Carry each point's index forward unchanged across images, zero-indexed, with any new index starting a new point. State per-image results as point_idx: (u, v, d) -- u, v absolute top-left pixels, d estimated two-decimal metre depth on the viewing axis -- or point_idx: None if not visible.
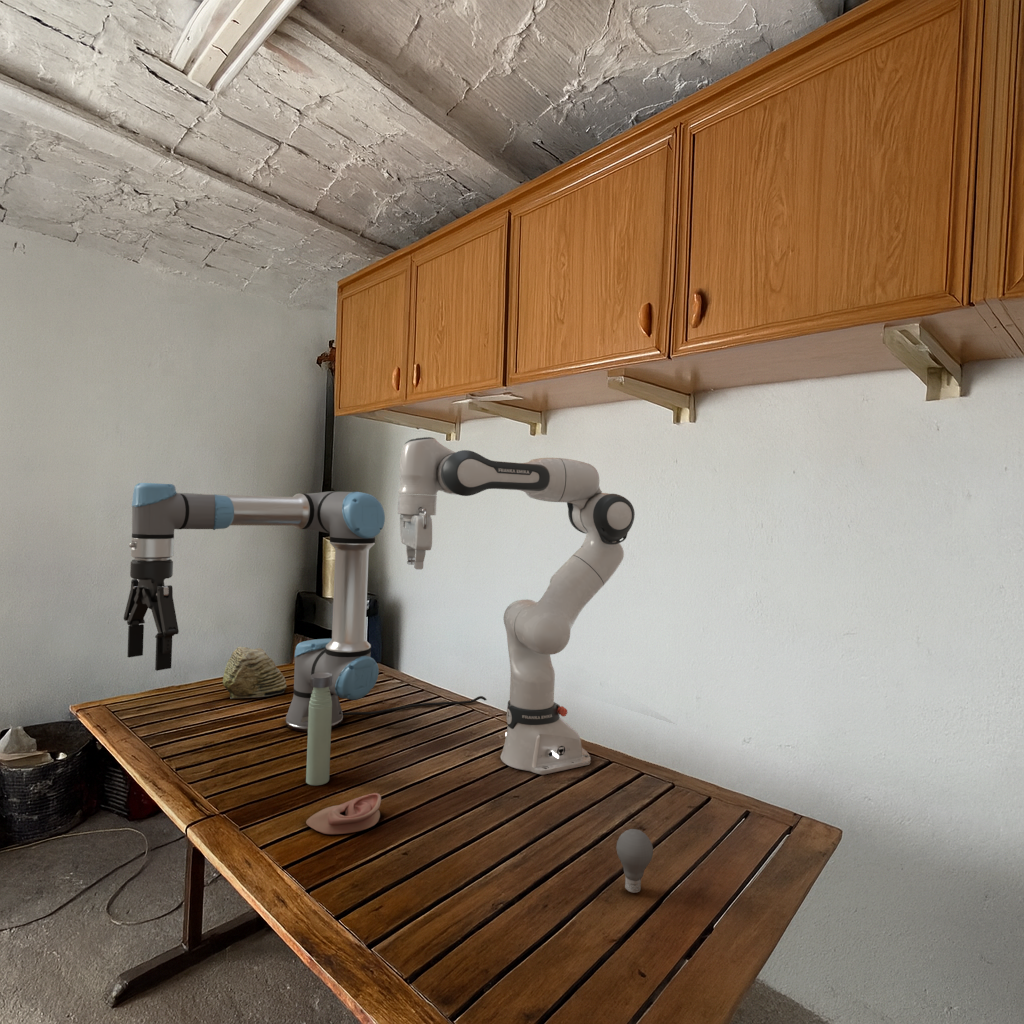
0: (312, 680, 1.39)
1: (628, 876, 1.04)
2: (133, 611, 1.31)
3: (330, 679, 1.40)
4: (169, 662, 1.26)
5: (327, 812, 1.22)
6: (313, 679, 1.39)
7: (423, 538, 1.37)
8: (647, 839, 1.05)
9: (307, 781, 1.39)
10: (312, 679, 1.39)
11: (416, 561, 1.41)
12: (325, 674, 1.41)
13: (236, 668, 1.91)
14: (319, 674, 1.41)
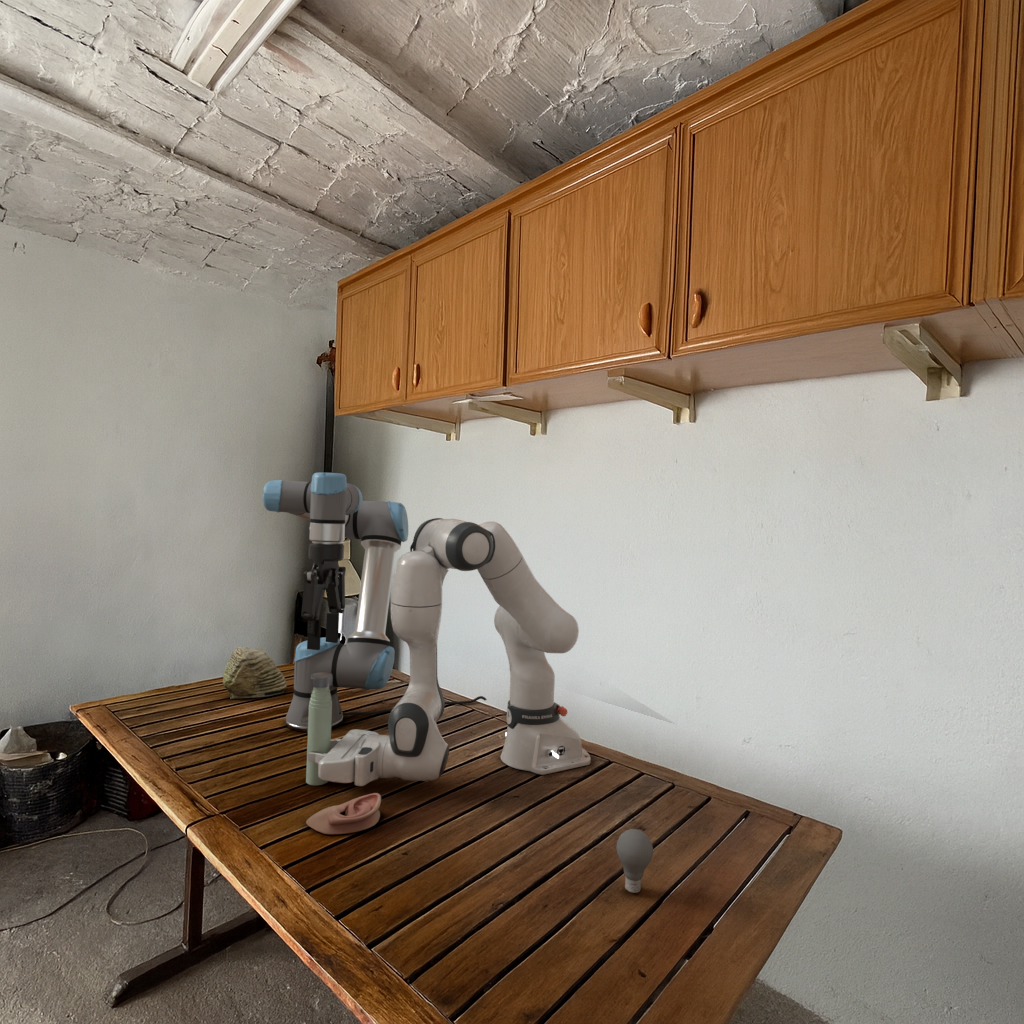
0: (312, 680, 1.39)
1: (628, 876, 1.04)
2: None
3: (330, 679, 1.40)
4: (316, 644, 1.36)
5: (327, 812, 1.22)
6: (313, 679, 1.39)
7: None
8: (647, 839, 1.05)
9: (307, 781, 1.39)
10: (312, 679, 1.39)
11: None
12: (325, 674, 1.41)
13: (236, 668, 1.91)
14: (319, 674, 1.41)
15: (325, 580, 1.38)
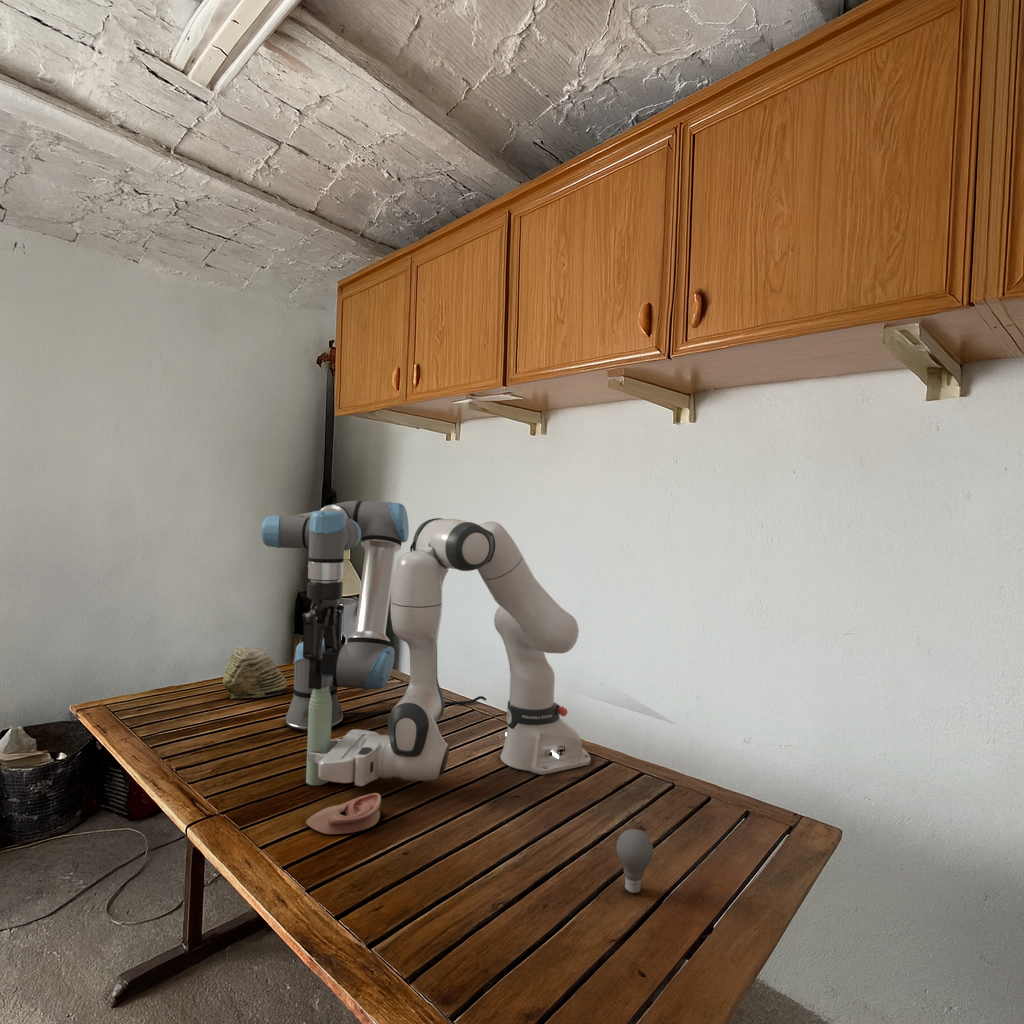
0: None
1: (628, 876, 1.04)
2: None
3: (330, 679, 1.40)
4: (318, 683, 1.38)
5: (327, 812, 1.22)
6: None
7: None
8: (647, 839, 1.05)
9: (307, 781, 1.39)
10: None
11: None
12: (325, 674, 1.41)
13: (236, 668, 1.91)
14: None
15: (324, 619, 1.38)
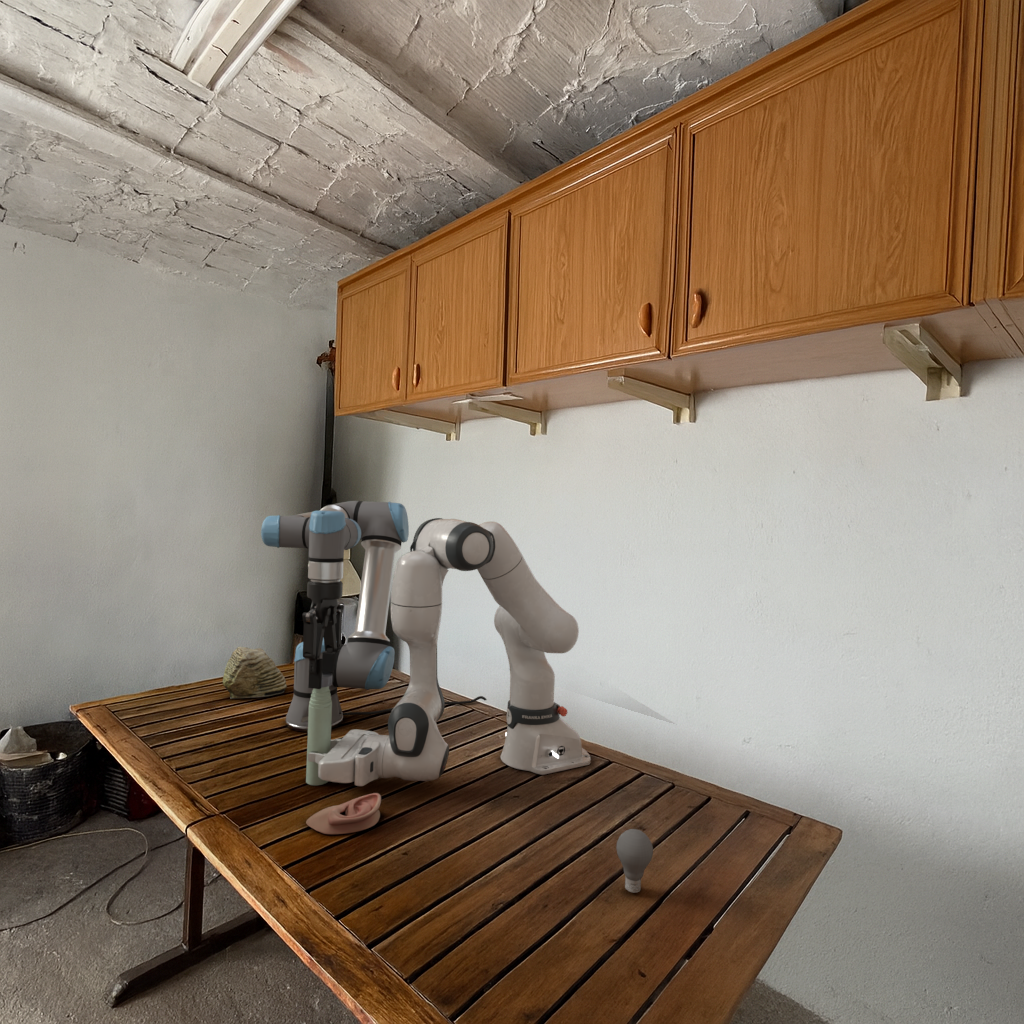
0: (327, 680, 1.39)
1: (628, 876, 1.04)
2: None
3: None
4: (318, 683, 1.38)
5: (327, 812, 1.22)
6: (328, 678, 1.40)
7: None
8: (647, 839, 1.05)
9: (307, 781, 1.39)
10: (327, 679, 1.39)
11: None
12: None
13: (236, 668, 1.91)
14: None
15: (324, 619, 1.38)
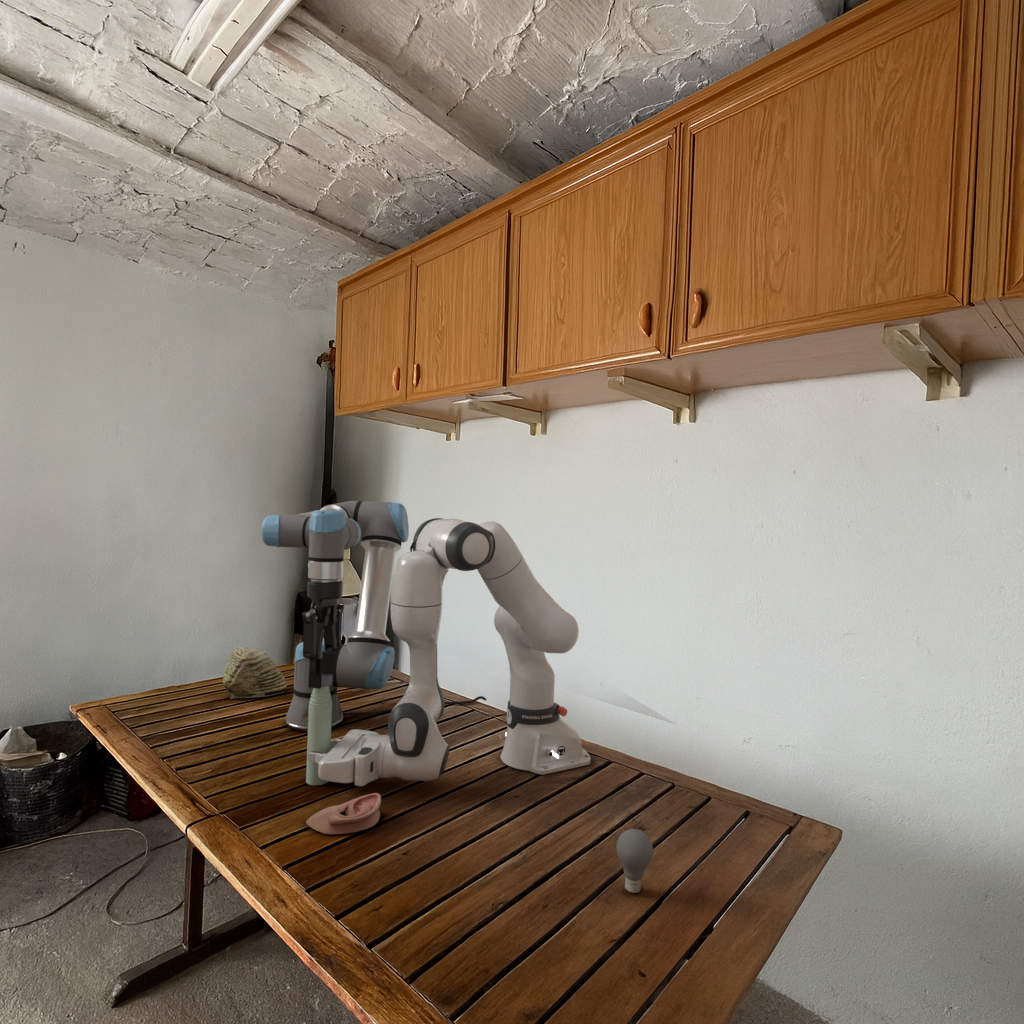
0: None
1: (628, 876, 1.04)
2: None
3: None
4: (318, 683, 1.38)
5: (327, 812, 1.22)
6: None
7: None
8: (647, 839, 1.05)
9: (307, 781, 1.39)
10: None
11: None
12: None
13: (236, 668, 1.91)
14: (324, 675, 1.40)
15: (324, 619, 1.38)
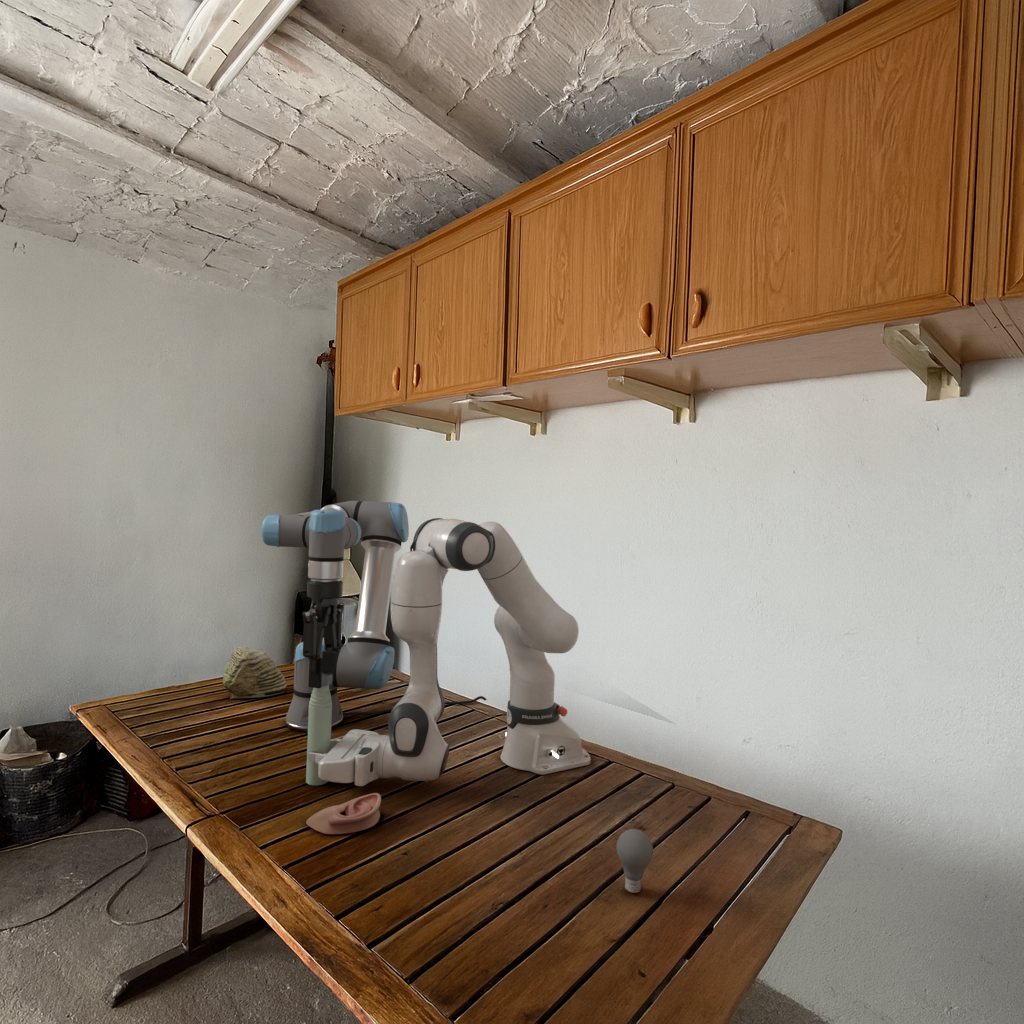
0: None
1: (628, 876, 1.04)
2: None
3: None
4: (318, 682, 1.38)
5: (327, 812, 1.22)
6: None
7: None
8: (647, 839, 1.05)
9: (307, 781, 1.39)
10: None
11: None
12: (324, 674, 1.40)
13: (236, 668, 1.91)
14: (324, 673, 1.41)
15: (324, 618, 1.38)
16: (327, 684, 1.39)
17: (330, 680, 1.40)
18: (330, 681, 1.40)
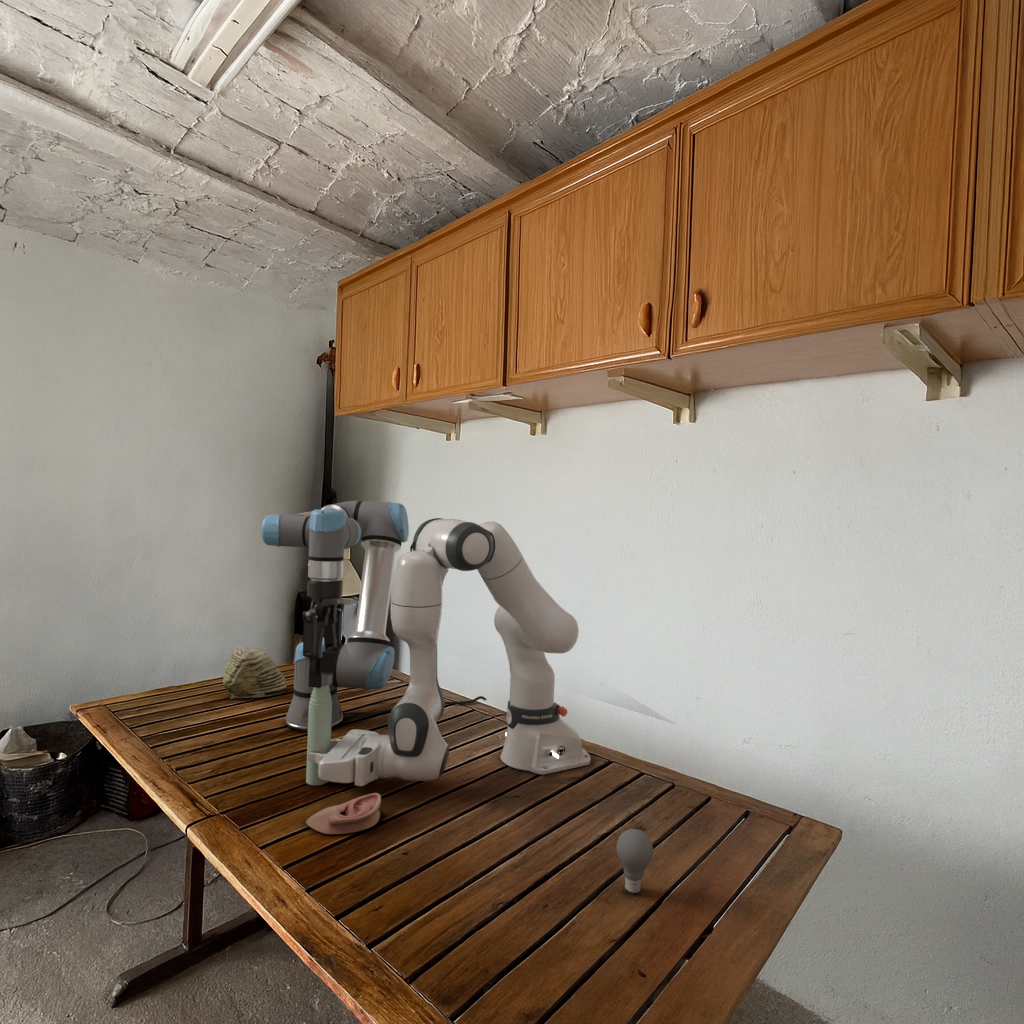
0: None
1: (628, 876, 1.04)
2: None
3: (331, 677, 1.41)
4: (318, 682, 1.38)
5: (327, 812, 1.22)
6: None
7: None
8: (647, 839, 1.05)
9: (307, 781, 1.39)
10: None
11: None
12: (325, 672, 1.42)
13: (236, 668, 1.91)
14: None
15: (324, 618, 1.38)
16: None
17: None
18: None
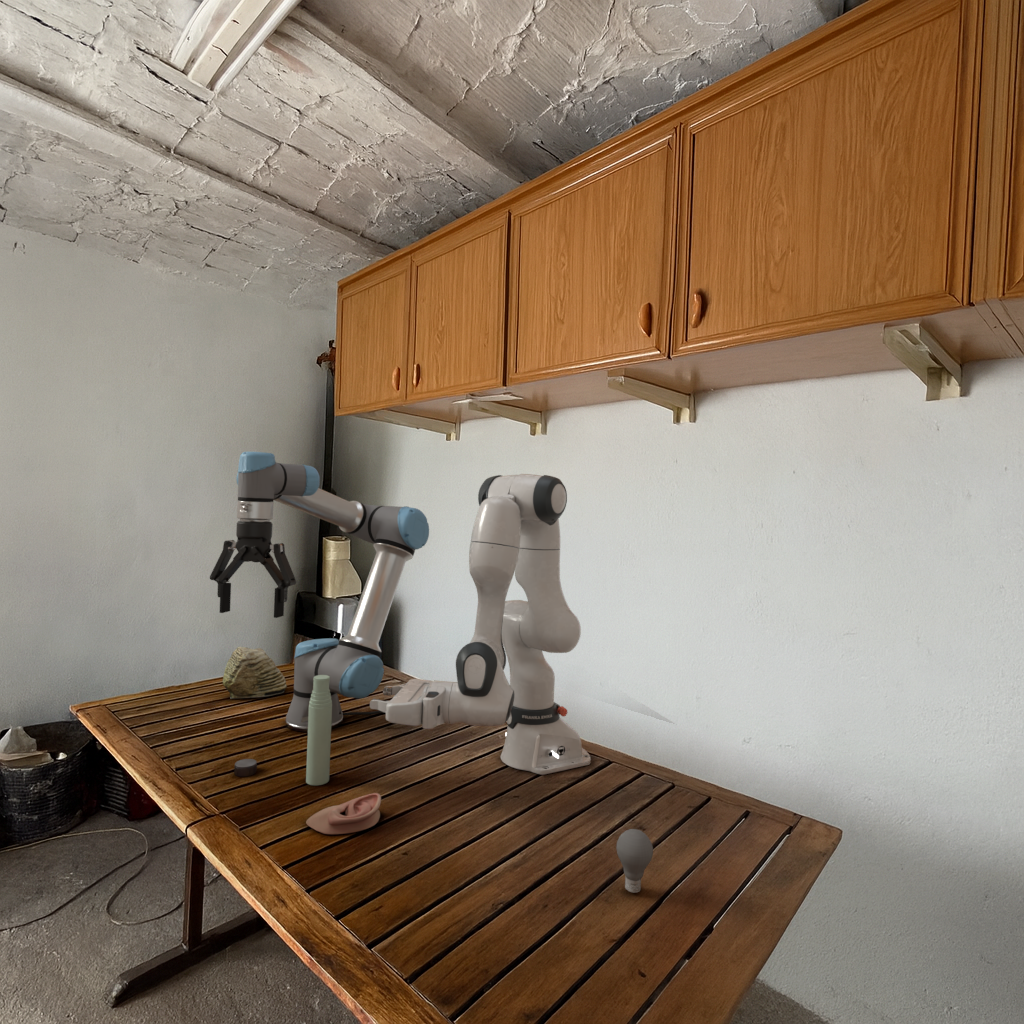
0: (252, 768, 1.43)
1: (628, 876, 1.04)
2: (229, 570, 1.43)
3: None
4: (282, 610, 1.43)
5: (327, 812, 1.22)
6: (253, 767, 1.43)
7: None
8: (647, 839, 1.05)
9: (307, 781, 1.39)
10: (252, 768, 1.43)
11: None
12: (243, 761, 1.44)
13: (236, 668, 1.91)
14: (243, 764, 1.43)
15: (269, 554, 1.44)
16: None
17: None
18: None
